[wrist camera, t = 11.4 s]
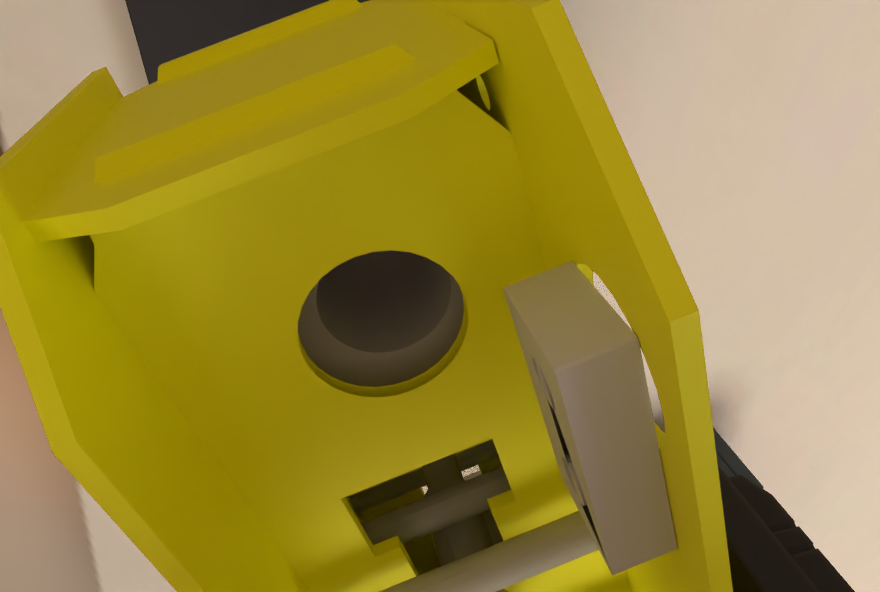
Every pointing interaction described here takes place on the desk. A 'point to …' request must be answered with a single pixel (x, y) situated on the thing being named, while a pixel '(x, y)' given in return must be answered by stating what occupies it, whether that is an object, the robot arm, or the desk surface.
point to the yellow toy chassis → (366, 313)
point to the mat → (199, 24)
